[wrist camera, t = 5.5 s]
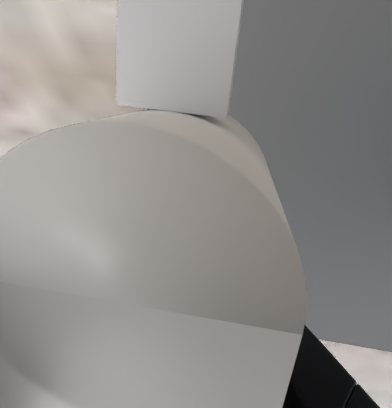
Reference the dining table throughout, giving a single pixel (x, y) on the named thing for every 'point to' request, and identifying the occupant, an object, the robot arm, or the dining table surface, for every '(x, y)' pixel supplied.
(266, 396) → the white rounded piece
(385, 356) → the dining table surface
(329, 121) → the rubber mat
